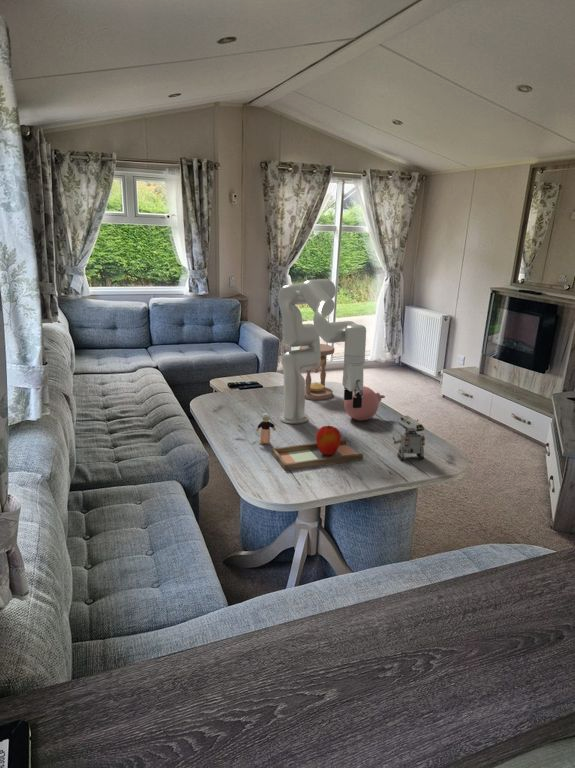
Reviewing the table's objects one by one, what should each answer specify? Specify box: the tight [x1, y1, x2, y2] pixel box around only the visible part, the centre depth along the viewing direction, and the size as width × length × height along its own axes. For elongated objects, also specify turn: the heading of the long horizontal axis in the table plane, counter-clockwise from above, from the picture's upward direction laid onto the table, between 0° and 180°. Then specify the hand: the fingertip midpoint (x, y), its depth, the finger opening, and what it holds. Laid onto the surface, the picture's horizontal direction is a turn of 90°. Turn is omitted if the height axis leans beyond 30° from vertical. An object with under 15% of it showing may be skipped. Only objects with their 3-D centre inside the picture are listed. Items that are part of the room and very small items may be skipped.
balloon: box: [343, 385, 386, 421], centre depth 238 cm, size 15×20×15 cm
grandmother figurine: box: [255, 412, 276, 445], centre depth 210 cm, size 8×4×13 cm, turn 105°
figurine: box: [392, 415, 426, 461], centre depth 200 cm, size 9×12×15 cm
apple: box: [315, 425, 342, 456], centre depth 200 cm, size 9×9×12 cm
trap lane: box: [271, 438, 364, 472], centre depth 200 cm, size 15×31×2 cm, turn 110°
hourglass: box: [298, 343, 335, 401], centre depth 269 cm, size 18×18×25 cm
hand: (352, 403), depth 197 cm, fingers open, 9 cm apart
